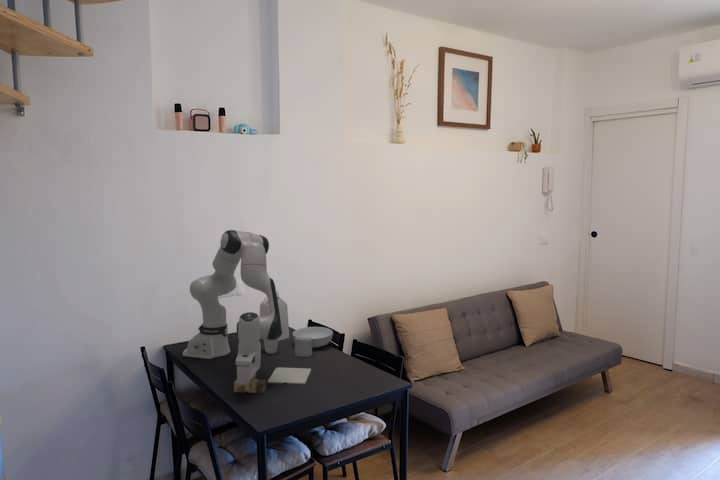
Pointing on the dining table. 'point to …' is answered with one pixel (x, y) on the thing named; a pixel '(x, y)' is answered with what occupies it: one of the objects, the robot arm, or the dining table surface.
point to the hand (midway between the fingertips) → (250, 386)
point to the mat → (289, 375)
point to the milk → (283, 314)
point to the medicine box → (303, 347)
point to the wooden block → (256, 386)
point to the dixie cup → (271, 346)
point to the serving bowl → (315, 335)
